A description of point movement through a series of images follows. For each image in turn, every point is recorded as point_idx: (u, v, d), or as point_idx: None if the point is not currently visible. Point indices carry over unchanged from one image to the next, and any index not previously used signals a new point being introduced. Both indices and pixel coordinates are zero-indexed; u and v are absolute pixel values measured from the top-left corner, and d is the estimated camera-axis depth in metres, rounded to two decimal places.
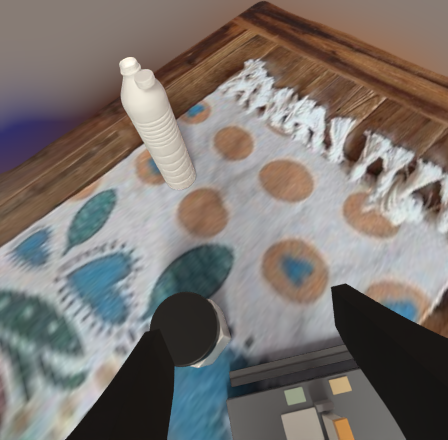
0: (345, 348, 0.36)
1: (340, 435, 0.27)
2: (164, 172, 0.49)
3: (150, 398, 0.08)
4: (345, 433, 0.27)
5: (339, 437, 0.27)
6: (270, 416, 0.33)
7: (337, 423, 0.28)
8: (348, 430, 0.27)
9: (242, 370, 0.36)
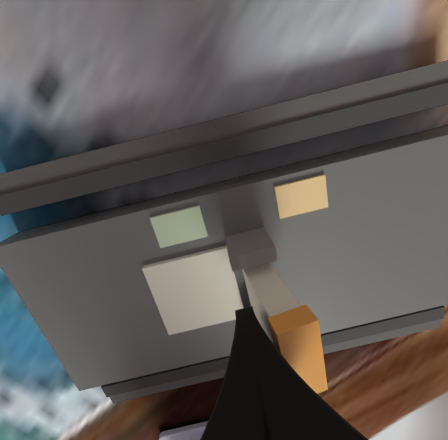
0: (341, 98, 0.12)
1: None
2: None
3: None
4: (302, 354, 0.08)
5: None
6: (116, 270, 0.13)
7: (284, 336, 0.08)
8: (313, 346, 0.08)
9: (25, 171, 0.12)
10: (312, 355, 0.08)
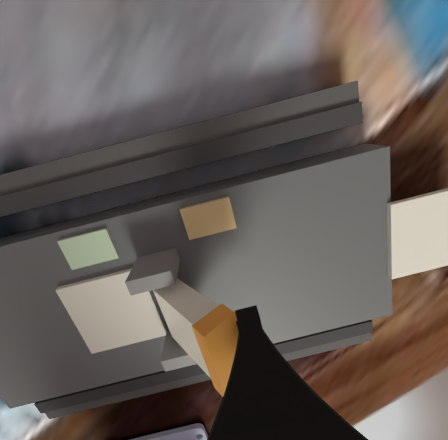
0: (241, 122, 0.12)
1: (216, 360, 0.09)
2: None
3: None
4: (227, 348, 0.09)
5: (211, 362, 0.09)
6: (31, 292, 0.13)
7: (210, 336, 0.09)
8: (235, 338, 0.09)
9: None
10: (235, 346, 0.09)
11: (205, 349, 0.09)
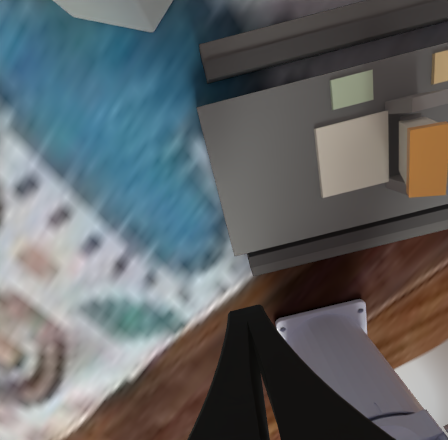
0: None
1: (413, 157, 0.12)
2: None
3: (255, 373, 0.08)
4: (428, 153, 0.12)
5: (409, 159, 0.12)
6: (291, 133, 0.16)
7: (416, 133, 0.11)
8: (440, 148, 0.11)
9: (233, 39, 0.14)
10: (437, 156, 0.11)
11: (408, 146, 0.12)
